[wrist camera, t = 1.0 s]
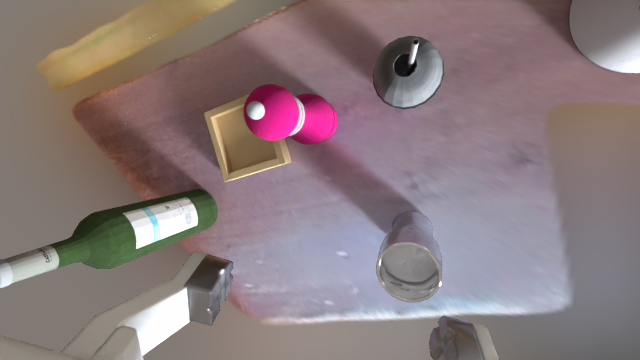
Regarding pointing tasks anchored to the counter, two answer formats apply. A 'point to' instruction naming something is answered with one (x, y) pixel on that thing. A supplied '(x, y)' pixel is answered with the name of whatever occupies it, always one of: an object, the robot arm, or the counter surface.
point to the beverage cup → (408, 72)
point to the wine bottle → (118, 235)
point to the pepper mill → (289, 115)
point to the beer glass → (410, 259)
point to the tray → (241, 143)
